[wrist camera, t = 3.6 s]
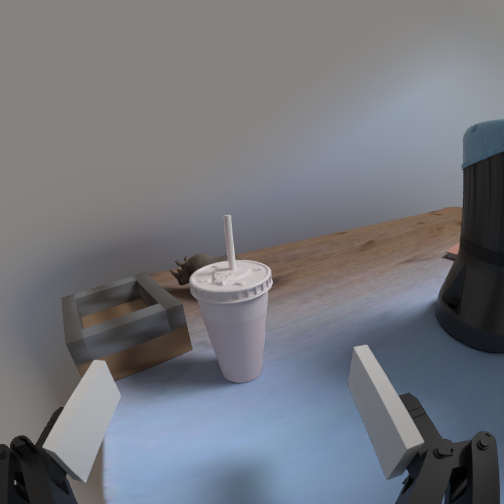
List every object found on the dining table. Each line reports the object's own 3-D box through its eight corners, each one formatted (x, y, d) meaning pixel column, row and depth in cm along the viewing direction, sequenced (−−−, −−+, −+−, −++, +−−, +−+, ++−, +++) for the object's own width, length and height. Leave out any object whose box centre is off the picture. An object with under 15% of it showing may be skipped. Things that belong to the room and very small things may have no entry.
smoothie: (284, 353, 26) (278, 208, 22) (265, 399, 20) (250, 227, 16) (224, 345, 28) (205, 210, 24) (195, 384, 22) (161, 228, 18)
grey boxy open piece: (153, 309, 37) (145, 272, 35) (192, 349, 28) (182, 303, 26) (75, 335, 30) (61, 297, 28) (88, 390, 21) (66, 343, 19)
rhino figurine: (182, 282, 46) (176, 247, 44) (259, 291, 40) (256, 251, 38) (167, 292, 42) (160, 256, 40) (247, 304, 37) (243, 262, 35)
